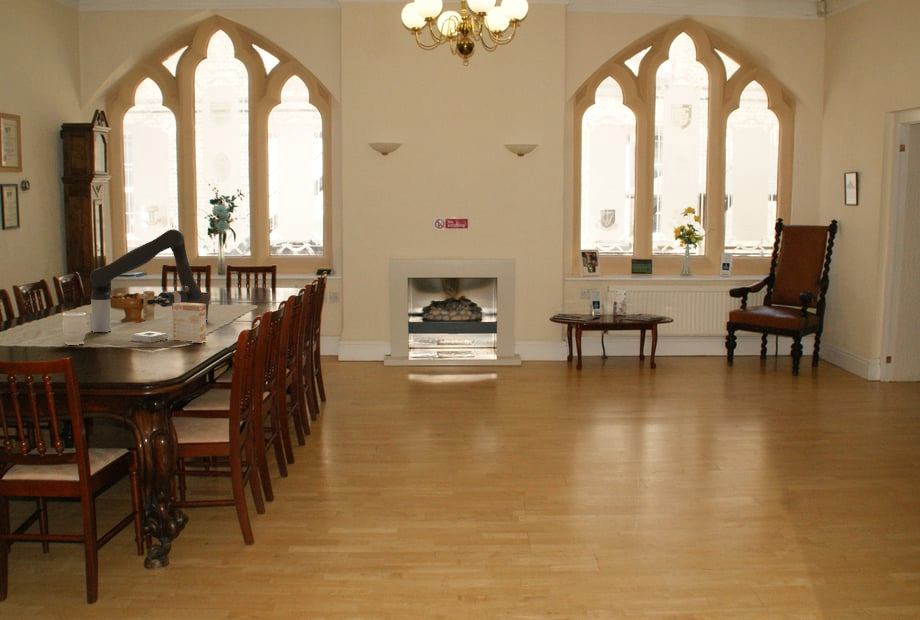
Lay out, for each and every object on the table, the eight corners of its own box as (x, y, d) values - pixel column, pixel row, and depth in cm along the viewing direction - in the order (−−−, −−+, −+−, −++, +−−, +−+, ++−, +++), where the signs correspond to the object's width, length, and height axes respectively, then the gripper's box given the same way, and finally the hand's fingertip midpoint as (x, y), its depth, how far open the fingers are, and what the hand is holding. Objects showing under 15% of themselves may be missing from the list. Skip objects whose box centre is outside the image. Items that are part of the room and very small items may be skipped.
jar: (78, 341, 432) (78, 311, 430) (91, 344, 427) (90, 313, 425) (58, 344, 424) (57, 313, 422) (70, 347, 418) (70, 315, 416)
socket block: (131, 342, 436) (131, 334, 435) (149, 339, 446) (149, 331, 446) (150, 344, 431) (150, 336, 430) (167, 341, 442) (167, 333, 441)
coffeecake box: (206, 342, 443) (206, 303, 440) (198, 344, 436) (198, 305, 433) (180, 340, 447) (179, 301, 444) (171, 342, 440) (171, 303, 437)
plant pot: (181, 319, 516) (181, 291, 514) (210, 319, 521) (210, 291, 519) (181, 323, 500) (181, 295, 498) (211, 323, 505) (211, 295, 503)
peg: (143, 319, 436) (143, 291, 434) (148, 318, 439) (148, 290, 438) (148, 320, 435) (149, 292, 433) (154, 319, 438) (154, 291, 436)
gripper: (158, 290, 451) (133, 293, 436) (180, 292, 446) (155, 295, 430) (158, 304, 452) (133, 308, 437) (180, 307, 447) (155, 311, 431)
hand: (144, 301), depth 433 cm, fingers closed on peg, 3 cm apart
